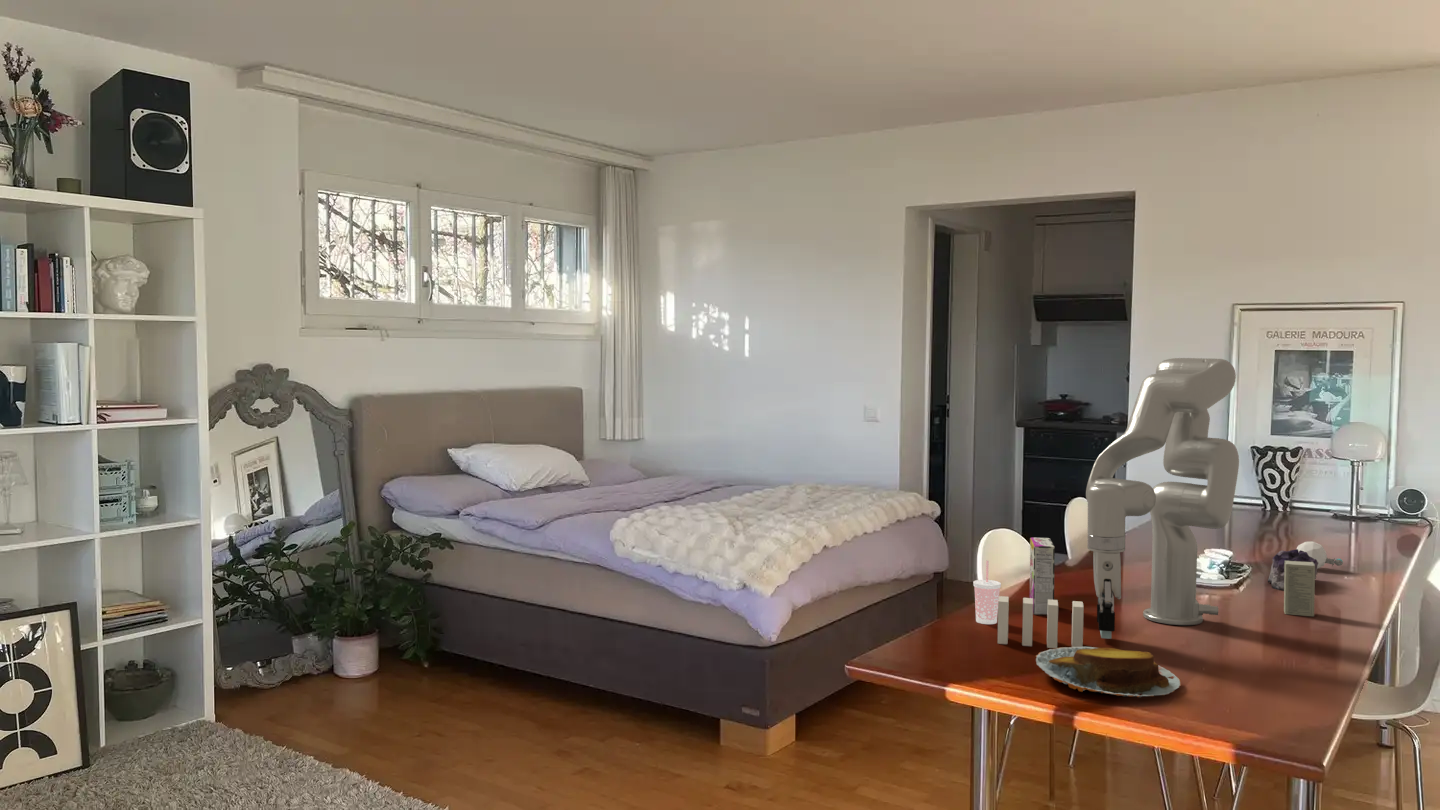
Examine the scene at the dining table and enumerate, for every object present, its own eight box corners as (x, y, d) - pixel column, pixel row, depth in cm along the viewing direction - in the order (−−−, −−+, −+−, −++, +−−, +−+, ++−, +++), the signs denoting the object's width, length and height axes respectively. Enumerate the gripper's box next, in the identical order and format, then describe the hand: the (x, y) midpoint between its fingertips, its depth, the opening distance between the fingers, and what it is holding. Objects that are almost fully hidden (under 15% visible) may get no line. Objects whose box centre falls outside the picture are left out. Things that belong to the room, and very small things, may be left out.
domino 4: (1081, 643, 223) (1082, 601, 223) (1082, 650, 219) (1083, 607, 218) (1071, 643, 224) (1072, 601, 223) (1072, 649, 219) (1073, 606, 219)
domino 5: (1109, 631, 228) (1110, 590, 227) (1111, 638, 223) (1111, 596, 223) (1100, 631, 229) (1100, 590, 228) (1101, 638, 224) (1101, 596, 223)
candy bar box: (1028, 603, 258) (1029, 536, 257) (1049, 604, 257) (1050, 537, 256) (1032, 615, 247) (1033, 545, 246) (1054, 616, 246) (1056, 546, 245)
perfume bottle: (1293, 551, 305) (1341, 560, 300) (1291, 572, 300) (1339, 581, 295) (1297, 532, 301) (1346, 541, 295) (1295, 553, 295) (1344, 562, 290)
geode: (1314, 595, 268) (1309, 556, 268) (1264, 595, 275) (1259, 557, 275) (1323, 578, 284) (1319, 541, 284) (1275, 578, 291) (1271, 542, 291)
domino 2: (1032, 639, 226) (1033, 598, 226) (1032, 646, 221) (1032, 603, 221) (1022, 639, 227) (1023, 597, 226) (1022, 645, 222) (1023, 603, 221)
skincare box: (1312, 613, 250) (1314, 562, 249) (1314, 617, 246) (1316, 565, 245) (1282, 610, 252) (1284, 559, 252) (1283, 614, 248) (1285, 563, 248)
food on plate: (1111, 656, 216) (1112, 623, 215) (1212, 695, 192) (1213, 659, 192) (1005, 669, 206) (1006, 635, 206) (1097, 712, 182) (1098, 674, 182)
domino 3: (1056, 641, 225) (1057, 600, 224) (1057, 648, 220) (1058, 605, 219) (1046, 641, 225) (1047, 599, 225) (1047, 647, 221) (1048, 604, 220)
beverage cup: (985, 626, 237) (986, 564, 236) (966, 620, 242) (967, 559, 242) (1006, 623, 240) (1007, 561, 239) (987, 616, 245) (988, 557, 244)
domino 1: (1007, 638, 228) (1008, 596, 227) (1007, 644, 223) (1008, 602, 222) (998, 637, 228) (999, 596, 228) (997, 643, 223) (998, 601, 223)
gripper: (1128, 551, 215) (1127, 639, 217) (1121, 535, 231) (1121, 616, 233) (1089, 550, 217) (1089, 637, 219) (1085, 534, 234) (1085, 615, 235)
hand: (1105, 625), depth 226 cm, fingers closed on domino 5, 4 cm apart
